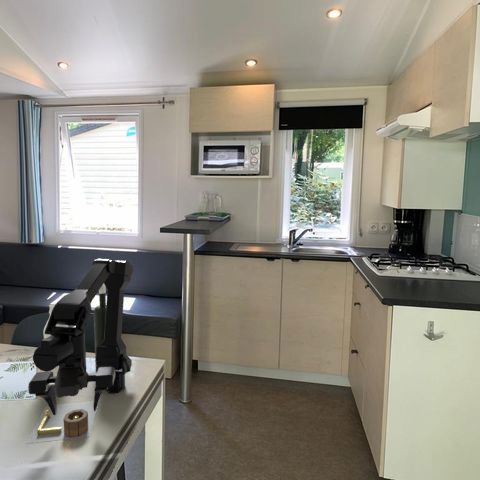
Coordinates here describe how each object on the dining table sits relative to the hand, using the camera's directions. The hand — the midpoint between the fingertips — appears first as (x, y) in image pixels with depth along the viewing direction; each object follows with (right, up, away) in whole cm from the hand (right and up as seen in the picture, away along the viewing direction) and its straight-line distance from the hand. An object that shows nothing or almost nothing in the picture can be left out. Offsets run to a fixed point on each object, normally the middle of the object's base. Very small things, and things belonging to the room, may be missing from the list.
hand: (75, 412), depth 92 cm
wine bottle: (-5, -2, +34) cm, 35 cm away
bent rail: (-7, -5, +3) cm, 9 cm away
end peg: (0, -6, +1) cm, 6 cm away
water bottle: (-17, -2, +26) cm, 31 cm away
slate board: (-4, -5, +5) cm, 8 cm away
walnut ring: (0, -5, +1) cm, 5 cm away
